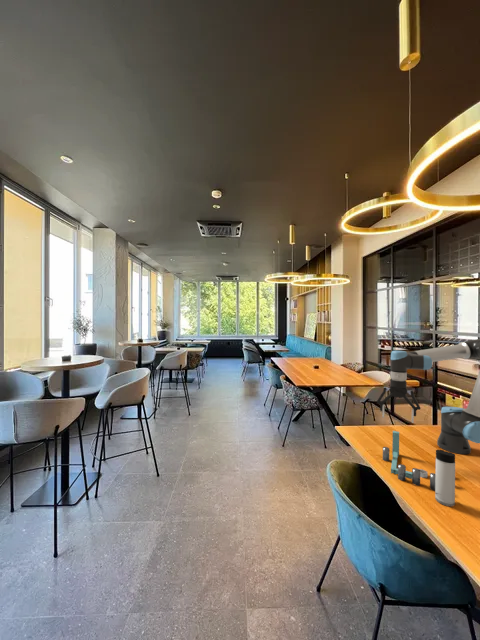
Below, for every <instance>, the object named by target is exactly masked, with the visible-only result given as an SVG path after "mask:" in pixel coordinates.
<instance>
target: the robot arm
mask: <svg viewBox="0 0 480 640" xmlns="http://www.w3.org/2000/svg"><path fill="white" fill-rule="evenodd" d="M462 358H463V359H464V360H469V359H476V360H477V359H478V362H479V363H480V338H478V339H471V340H467V341H462V342H458V344H454V345H453V344H452V345H446V346H440V347H434V348H427V349H420V350H414V351H413V350H412V351H406V350H396V349H395V350H392V351H391V353H390V380H389V381H390V382H389V384H390V385H389V387H386V386H384V387H383V391H382V392H381V394H380V396H379V397H378V398H377V400H376V403H377V404H379V405H380V406H379V407H380V408H379V410H380V412H382V413H381V415H382V418H385V403H387V401H389V400H390V399H391V398H392V397H394V398H400V399H402V398H403V399H404V400H405V401H406V402H407V404H409V406H410V407H411V423H413V424H414V419H415V418H414V417H416V416H417V411H418V410H419V411H420V410H421V408H422V407H421V406H420V404H419V402H418V400H417V398H416V397H415V395H414V394H415V393H414V389H410V390H408V389H407V376H408V373H407V372H408V370H423V371H424V370H426V371H427V370H430V369H432V367H433V363H434V362H435V363H436V362H441V361H443V362H444V361H448V360H449V361H450V360H456V359H457V360H458V359H462ZM388 391H389V392H390V394H388V395H387V396H386V397H385V398H384V399H383V400H382V398H383V397H384V396H385V394H386V392H388ZM407 394H408V395H410V396H411V399H412V400H413V402H414V403H413V402H412V401H411V399H410V398H409V397H408V396H407ZM414 404H415V405H414ZM469 441H471V442H473V443H475V444H480V370H479V371H478V374H477V377H476V380H475V383H474V387H473V390H472V391H471V394H470V398H469V402H468V403H467V406H466V408H464V407H459V406H458V407H456V406H442V407H441V411H440V434H439V435H438V438H437V441H436V444H437V446H438V447H439V448H440V449H441V450H444V451H446V452H451V453H453V454H458V455H459V454H460V455H469V454H471V452H472V449H471V444H470V442H469Z"/></svg>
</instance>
